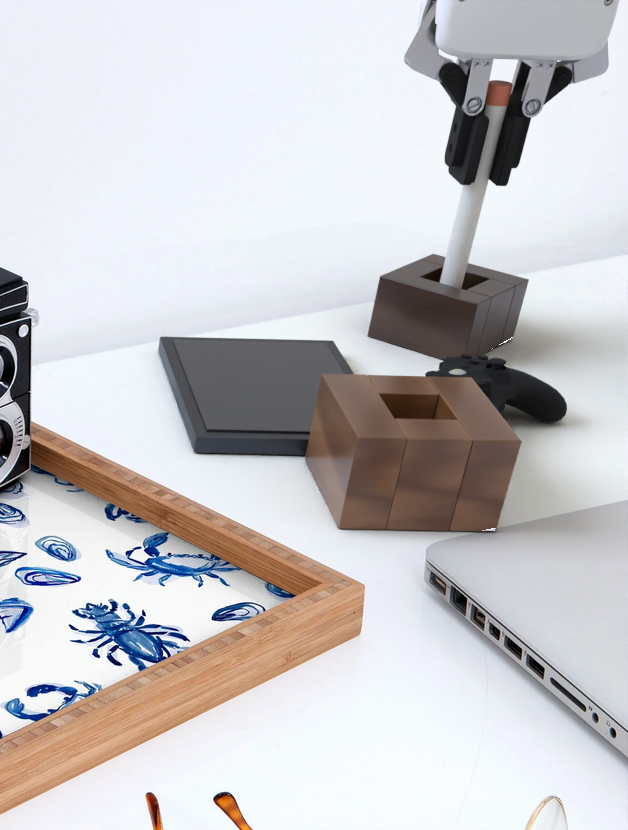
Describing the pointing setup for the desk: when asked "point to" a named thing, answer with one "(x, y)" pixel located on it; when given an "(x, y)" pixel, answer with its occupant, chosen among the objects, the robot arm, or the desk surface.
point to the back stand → (446, 309)
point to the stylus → (475, 188)
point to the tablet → (248, 390)
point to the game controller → (506, 386)
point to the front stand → (410, 453)
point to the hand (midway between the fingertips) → (477, 177)
